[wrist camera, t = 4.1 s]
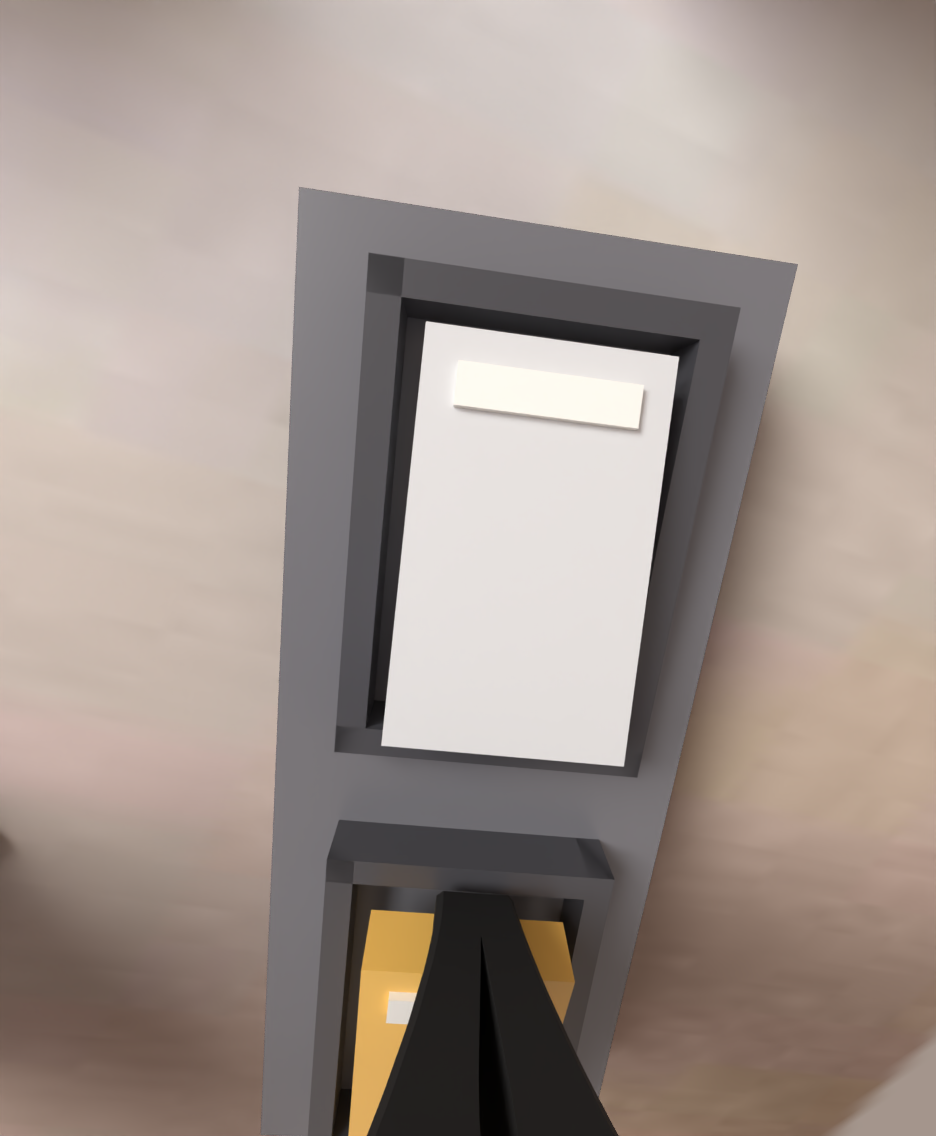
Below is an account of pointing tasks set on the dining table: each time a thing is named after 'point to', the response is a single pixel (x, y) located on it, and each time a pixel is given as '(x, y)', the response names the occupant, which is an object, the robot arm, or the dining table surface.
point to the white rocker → (527, 545)
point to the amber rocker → (393, 988)
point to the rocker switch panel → (369, 593)
